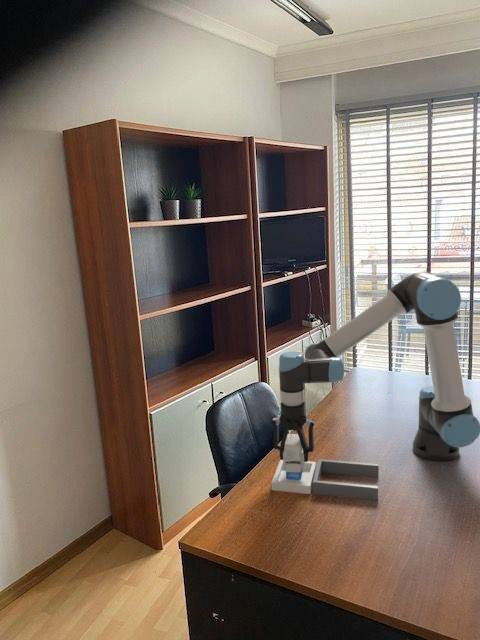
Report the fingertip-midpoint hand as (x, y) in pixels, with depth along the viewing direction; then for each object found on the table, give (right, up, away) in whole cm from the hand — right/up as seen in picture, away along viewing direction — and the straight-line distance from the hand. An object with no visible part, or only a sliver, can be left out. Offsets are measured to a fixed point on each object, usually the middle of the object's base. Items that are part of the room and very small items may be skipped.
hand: (294, 469), depth 164 cm
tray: (0, -4, +1) cm, 4 cm away
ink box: (0, -2, 0) cm, 1 cm away
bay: (+17, -4, -4) cm, 17 cm away
